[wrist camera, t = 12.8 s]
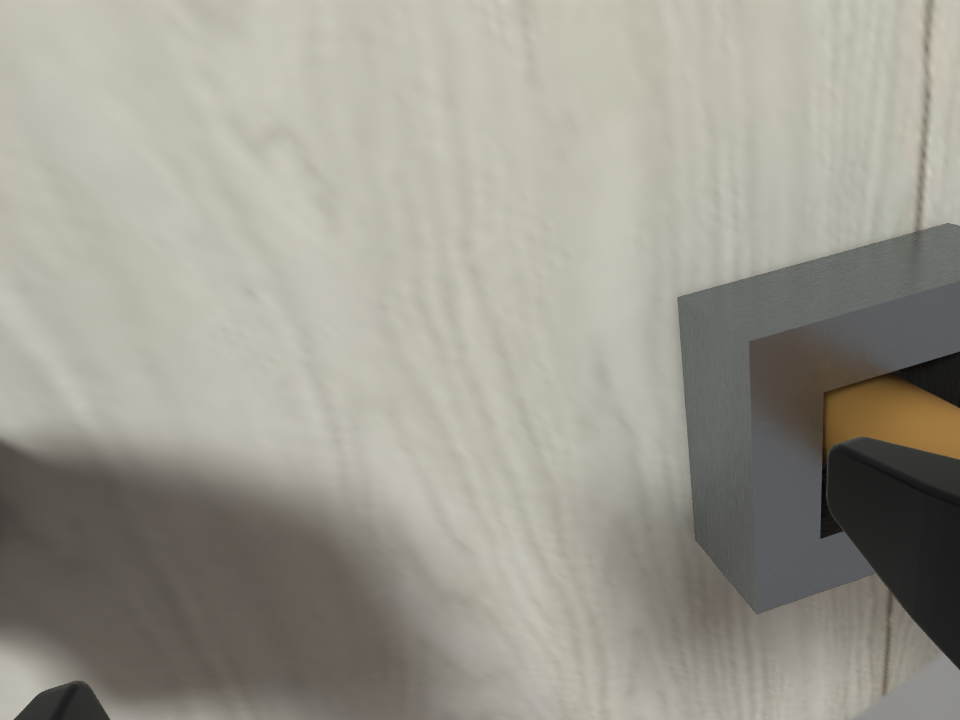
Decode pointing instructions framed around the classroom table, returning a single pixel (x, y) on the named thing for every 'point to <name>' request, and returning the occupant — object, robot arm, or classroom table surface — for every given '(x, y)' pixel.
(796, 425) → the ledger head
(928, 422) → the orange cylinder
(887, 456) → the robot arm
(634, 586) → the classroom table surface
